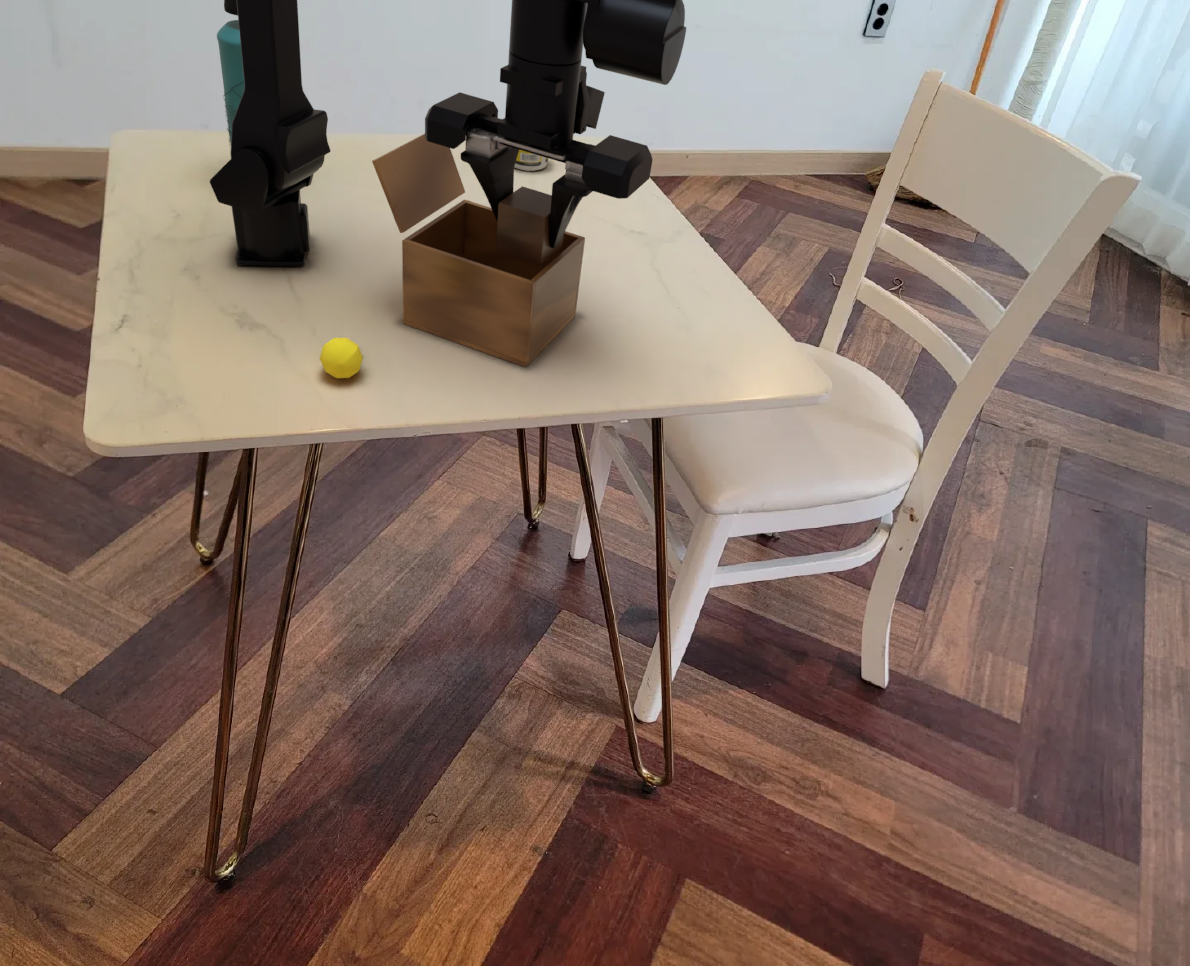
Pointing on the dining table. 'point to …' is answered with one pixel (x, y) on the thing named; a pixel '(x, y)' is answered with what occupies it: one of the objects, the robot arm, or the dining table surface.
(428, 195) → the flap
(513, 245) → the block
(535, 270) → the brown wooden open box
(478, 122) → the robot arm
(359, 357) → the yellow lemon
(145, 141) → the dining table surface
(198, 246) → the dining table surface
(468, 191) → the dining table surface
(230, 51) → the beverage bottle
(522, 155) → the supplement bottle
